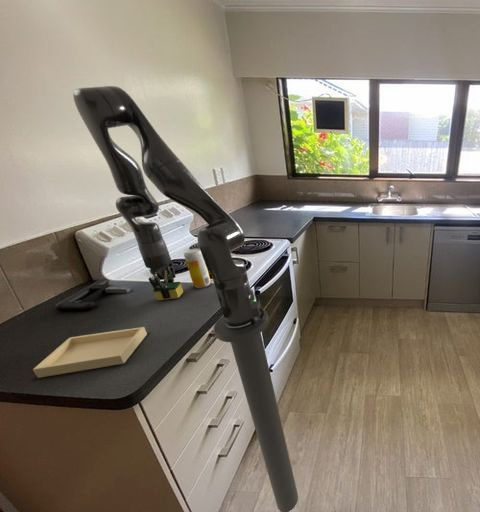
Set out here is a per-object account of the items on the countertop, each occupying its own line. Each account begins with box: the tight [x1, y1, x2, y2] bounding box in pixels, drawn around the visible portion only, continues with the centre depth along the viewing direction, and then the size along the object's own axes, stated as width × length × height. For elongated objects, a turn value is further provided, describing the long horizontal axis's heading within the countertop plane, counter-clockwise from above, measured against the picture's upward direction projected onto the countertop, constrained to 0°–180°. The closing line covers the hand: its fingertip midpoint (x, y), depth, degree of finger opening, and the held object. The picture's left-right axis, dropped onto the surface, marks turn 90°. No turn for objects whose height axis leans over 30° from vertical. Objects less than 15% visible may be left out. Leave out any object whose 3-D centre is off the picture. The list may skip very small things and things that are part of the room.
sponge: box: [153, 281, 184, 302], centre depth 107 cm, size 7×5×4 cm, turn 104°
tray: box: [32, 326, 148, 379], centre depth 79 cm, size 19×13×3 cm
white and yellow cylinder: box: [183, 247, 212, 289], centre depth 113 cm, size 6×6×15 cm
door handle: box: [54, 278, 131, 312], centre depth 108 cm, size 3×20×16 cm
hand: (169, 294), depth 107 cm, fingers closed on sponge, 4 cm apart
